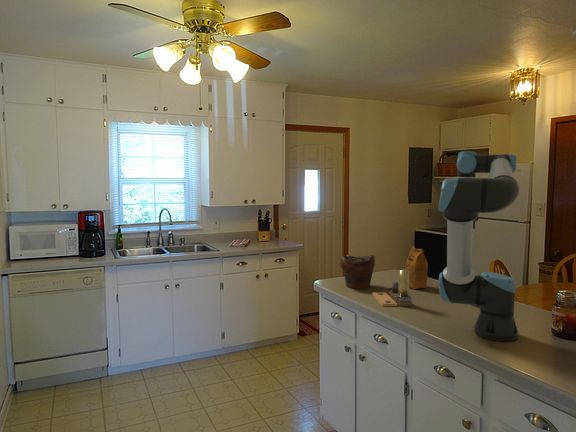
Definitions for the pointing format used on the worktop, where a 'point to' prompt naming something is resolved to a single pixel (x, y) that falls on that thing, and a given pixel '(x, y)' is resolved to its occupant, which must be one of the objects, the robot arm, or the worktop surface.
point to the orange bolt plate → (384, 299)
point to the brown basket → (358, 270)
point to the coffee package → (417, 269)
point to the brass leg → (404, 286)
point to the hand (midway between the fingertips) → (463, 234)
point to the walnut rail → (394, 294)
